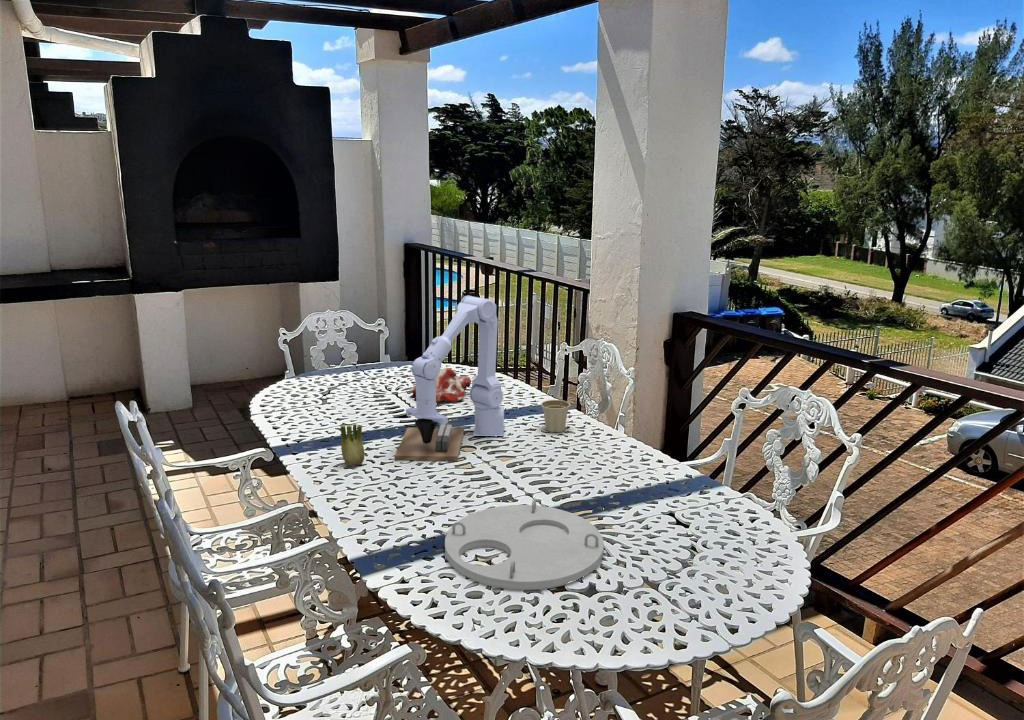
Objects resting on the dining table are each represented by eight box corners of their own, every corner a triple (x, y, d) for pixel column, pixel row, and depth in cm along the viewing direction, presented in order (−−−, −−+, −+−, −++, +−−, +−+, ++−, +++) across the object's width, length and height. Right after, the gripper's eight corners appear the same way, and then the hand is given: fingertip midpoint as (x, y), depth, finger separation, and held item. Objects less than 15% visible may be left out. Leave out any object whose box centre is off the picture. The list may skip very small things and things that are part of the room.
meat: (466, 406, 258) (466, 379, 256) (407, 405, 260) (406, 378, 257) (473, 390, 279) (473, 364, 276) (418, 389, 280) (417, 363, 277)
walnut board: (464, 432, 232) (464, 428, 231) (457, 461, 208) (457, 456, 208) (407, 432, 232) (407, 427, 231) (394, 460, 209) (394, 455, 208)
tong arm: (440, 429, 229) (439, 419, 228) (449, 429, 229) (448, 419, 228) (433, 451, 211) (433, 440, 210) (443, 451, 211) (442, 440, 210)
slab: (598, 599, 141) (599, 576, 140) (425, 582, 147) (424, 559, 146) (607, 519, 174) (607, 500, 173) (465, 507, 180) (465, 489, 179)
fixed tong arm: (447, 433, 225) (447, 424, 225) (452, 433, 225) (452, 424, 225) (442, 451, 211) (441, 441, 210) (447, 451, 211) (447, 441, 210)
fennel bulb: (340, 465, 205) (338, 425, 202) (351, 459, 209) (349, 420, 206) (357, 469, 202) (355, 428, 200) (367, 463, 207) (365, 423, 204)
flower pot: (536, 432, 233) (536, 406, 230) (546, 423, 241) (546, 398, 239) (564, 436, 229) (565, 410, 227) (573, 427, 238) (574, 401, 235)
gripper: (398, 397, 212) (399, 441, 216) (435, 406, 204) (436, 451, 207) (414, 391, 218) (416, 434, 221) (452, 400, 210) (452, 444, 213)
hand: (427, 442), depth 215 cm, fingers closed
